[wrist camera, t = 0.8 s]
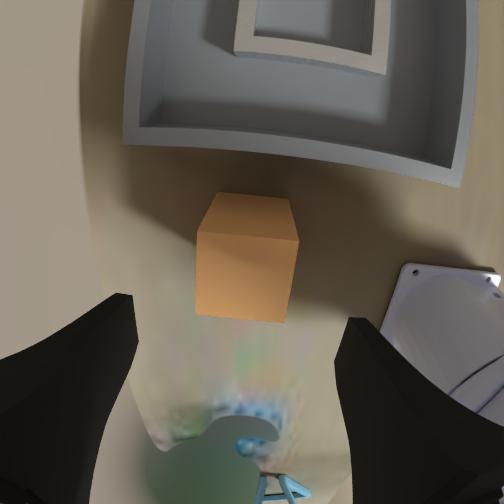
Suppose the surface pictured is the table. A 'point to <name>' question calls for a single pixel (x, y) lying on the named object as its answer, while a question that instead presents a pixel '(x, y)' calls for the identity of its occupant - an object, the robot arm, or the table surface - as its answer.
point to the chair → (286, 486)
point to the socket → (312, 54)
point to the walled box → (306, 84)
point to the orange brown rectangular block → (246, 257)
